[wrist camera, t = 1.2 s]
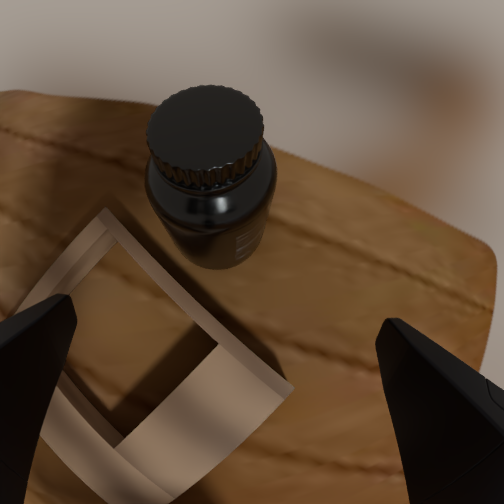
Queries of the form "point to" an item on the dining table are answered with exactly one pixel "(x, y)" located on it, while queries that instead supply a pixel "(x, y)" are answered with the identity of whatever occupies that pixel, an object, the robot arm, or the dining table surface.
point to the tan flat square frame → (170, 410)
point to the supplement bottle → (210, 174)
